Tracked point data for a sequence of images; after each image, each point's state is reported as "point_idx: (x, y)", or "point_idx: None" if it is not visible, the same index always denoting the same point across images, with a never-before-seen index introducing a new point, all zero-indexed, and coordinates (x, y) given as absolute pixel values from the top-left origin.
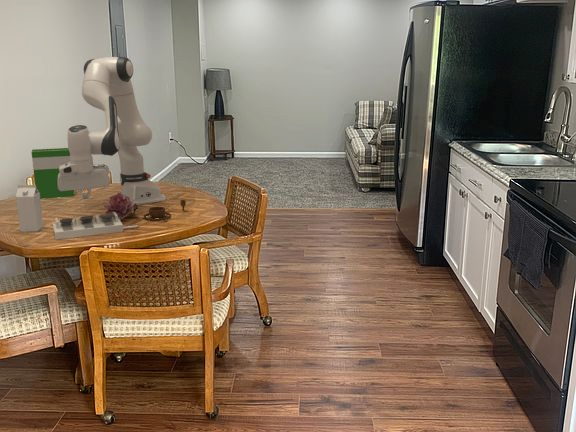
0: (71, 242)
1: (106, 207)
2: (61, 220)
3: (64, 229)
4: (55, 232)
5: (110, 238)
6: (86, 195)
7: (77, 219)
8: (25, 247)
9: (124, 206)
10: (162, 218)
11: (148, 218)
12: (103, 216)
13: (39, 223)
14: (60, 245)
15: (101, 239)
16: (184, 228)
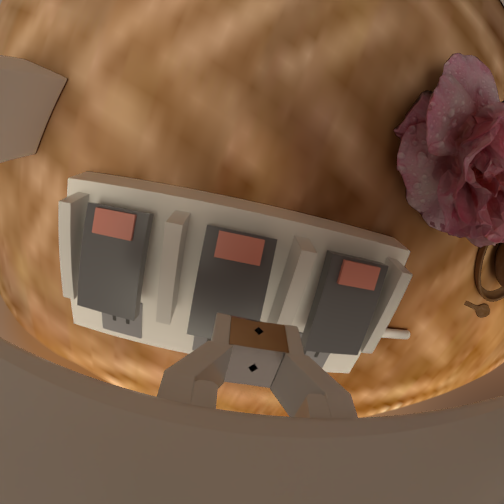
0: (136, 361)
1: (430, 140)
2: (83, 304)
3: (107, 317)
4: (75, 323)
5: (266, 390)
6: (257, 382)
7: (167, 309)
8: (18, 316)
9: (483, 229)
10: (493, 301)
11: (478, 278)
12: (309, 348)
13: (28, 127)
14: (103, 363)
15: (236, 386)
16: (455, 383)
